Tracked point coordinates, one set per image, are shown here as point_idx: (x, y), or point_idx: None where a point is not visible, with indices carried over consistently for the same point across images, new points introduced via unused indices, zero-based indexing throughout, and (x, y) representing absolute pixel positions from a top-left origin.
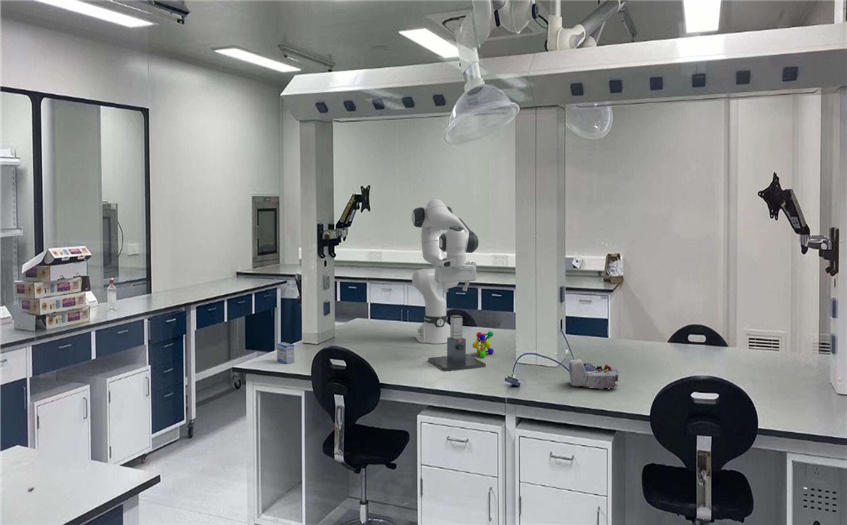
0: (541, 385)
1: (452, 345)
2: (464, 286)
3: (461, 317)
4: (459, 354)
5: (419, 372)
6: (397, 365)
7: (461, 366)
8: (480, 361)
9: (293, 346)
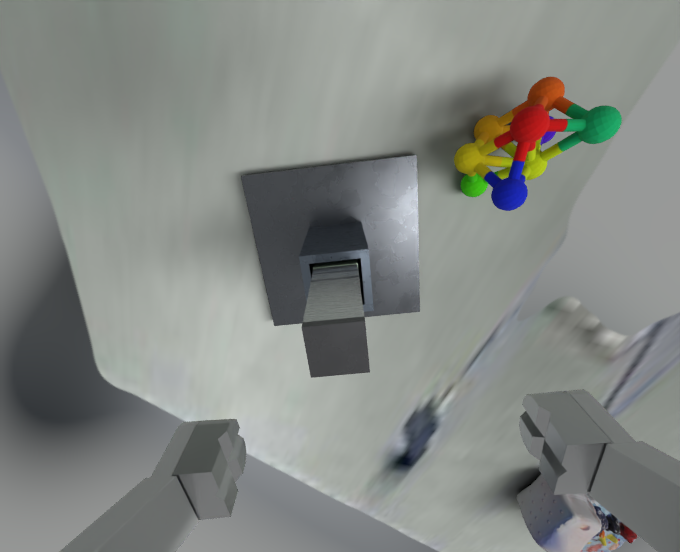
0: (462, 471)
1: None
2: (610, 454)
3: (363, 368)
4: None
5: (195, 310)
6: (121, 207)
7: None
8: (416, 281)
9: None
